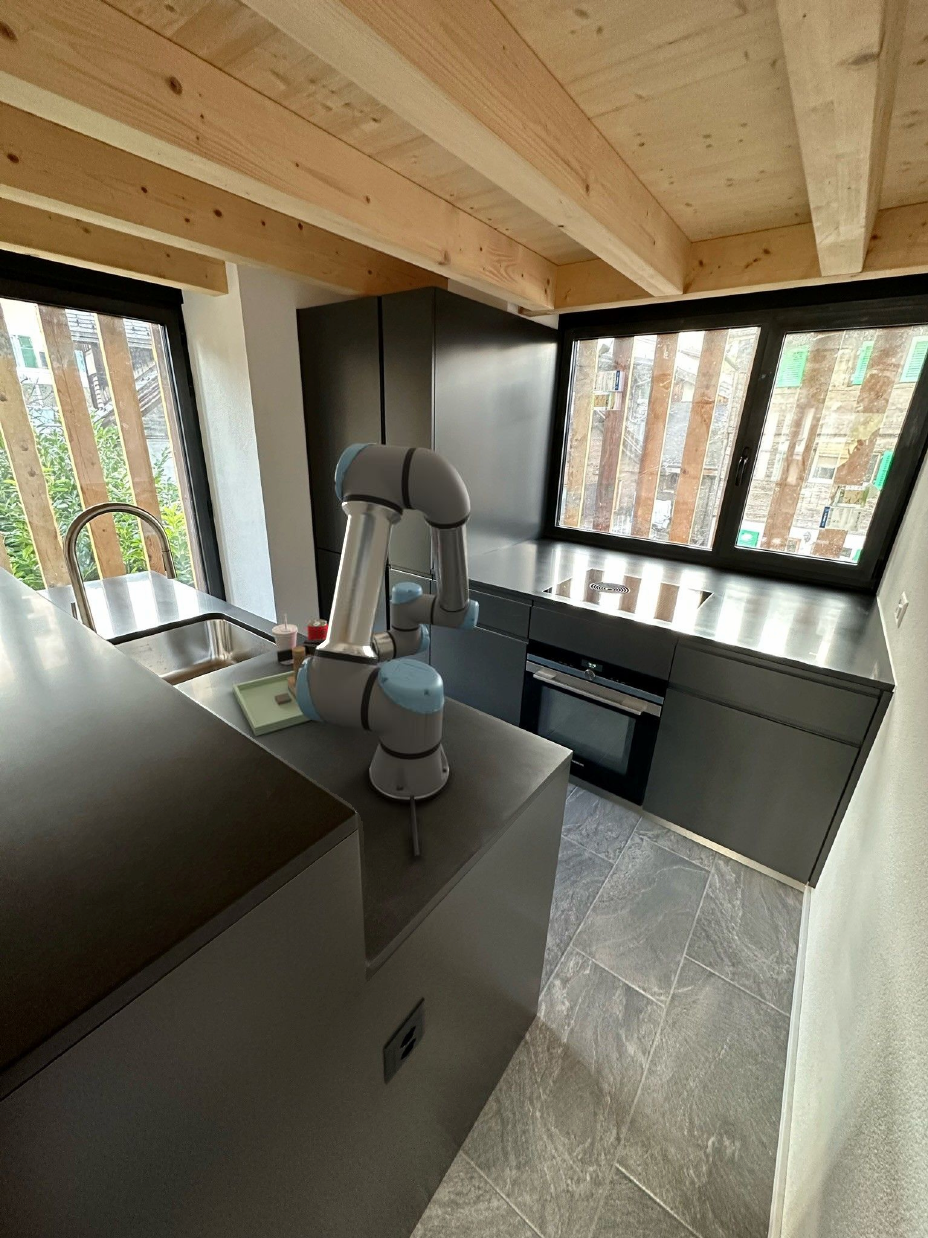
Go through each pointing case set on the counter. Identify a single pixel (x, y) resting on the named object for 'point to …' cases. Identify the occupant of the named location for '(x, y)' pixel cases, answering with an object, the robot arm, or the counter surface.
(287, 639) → the smoothie
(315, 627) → the beverage can
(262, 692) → the tray
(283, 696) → the pad
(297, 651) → the brush
